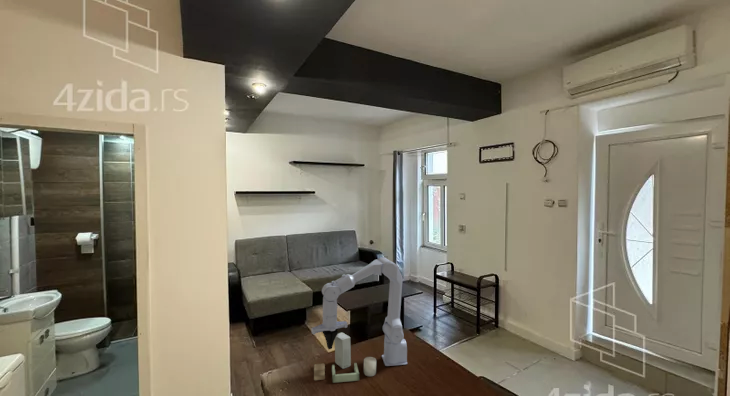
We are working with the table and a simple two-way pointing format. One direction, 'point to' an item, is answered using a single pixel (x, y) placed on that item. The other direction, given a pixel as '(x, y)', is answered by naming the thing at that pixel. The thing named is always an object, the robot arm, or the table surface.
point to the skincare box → (342, 350)
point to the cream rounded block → (369, 366)
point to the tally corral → (345, 375)
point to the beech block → (319, 371)
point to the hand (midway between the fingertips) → (329, 347)
